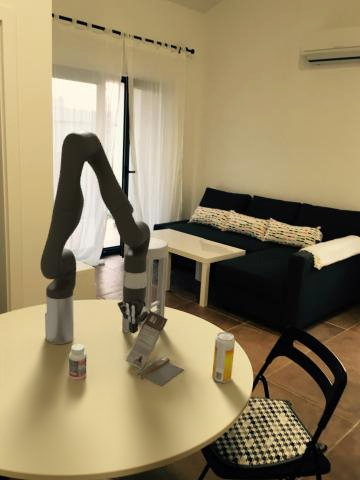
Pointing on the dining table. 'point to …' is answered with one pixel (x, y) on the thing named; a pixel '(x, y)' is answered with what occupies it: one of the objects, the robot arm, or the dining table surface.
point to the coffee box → (146, 340)
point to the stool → (155, 251)
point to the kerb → (154, 368)
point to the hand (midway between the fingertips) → (133, 332)
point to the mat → (161, 372)
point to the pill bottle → (77, 362)
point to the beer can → (223, 357)
